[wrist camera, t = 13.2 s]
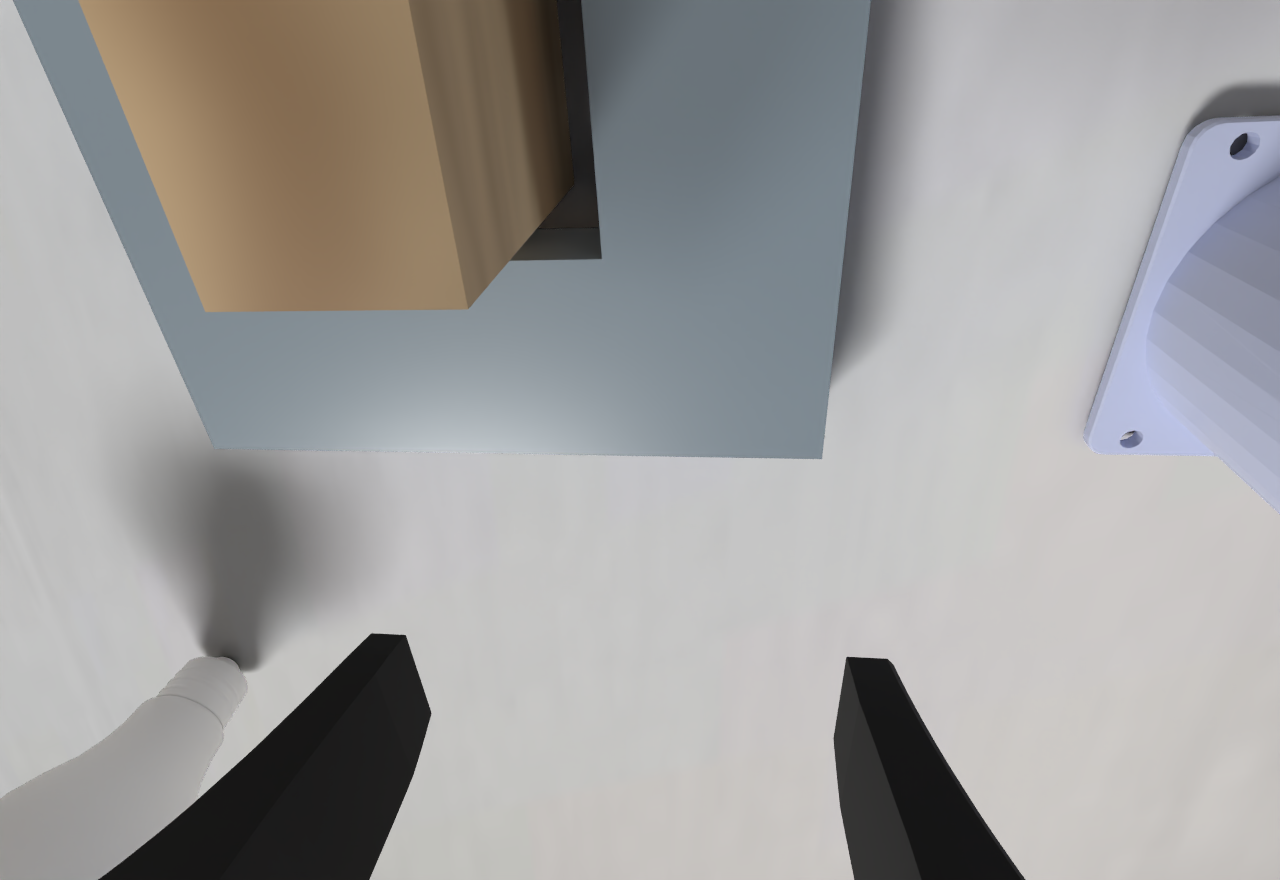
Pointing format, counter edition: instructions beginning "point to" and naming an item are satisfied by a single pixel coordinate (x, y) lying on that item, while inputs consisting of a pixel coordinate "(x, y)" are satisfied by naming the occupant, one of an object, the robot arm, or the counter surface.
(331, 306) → the peg
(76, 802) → the lightbulb
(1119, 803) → the counter surface
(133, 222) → the socket block
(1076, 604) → the counter surface
